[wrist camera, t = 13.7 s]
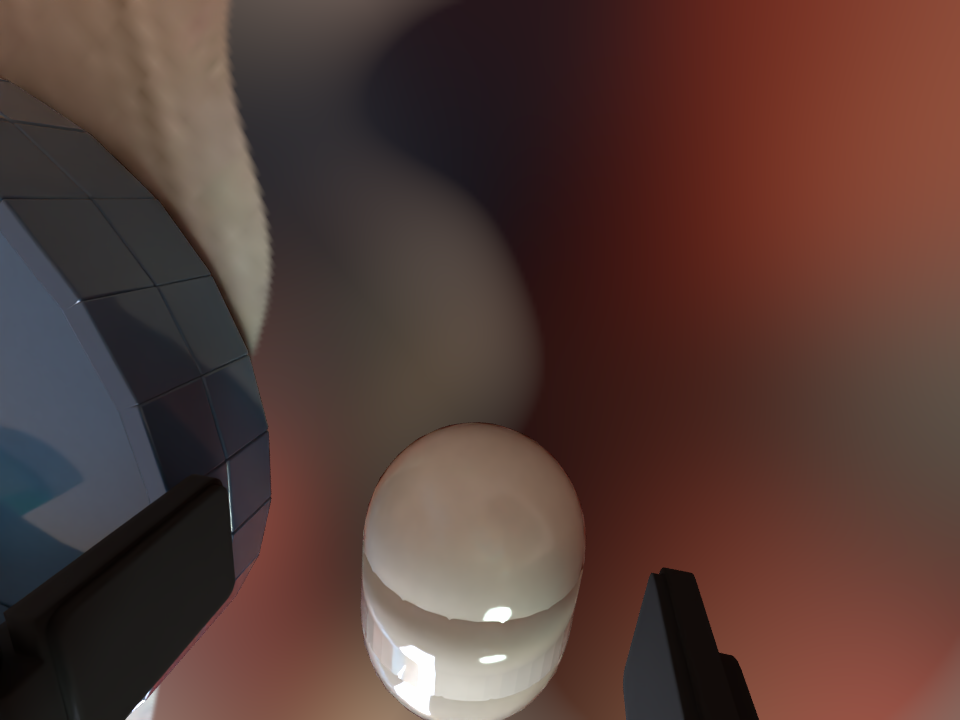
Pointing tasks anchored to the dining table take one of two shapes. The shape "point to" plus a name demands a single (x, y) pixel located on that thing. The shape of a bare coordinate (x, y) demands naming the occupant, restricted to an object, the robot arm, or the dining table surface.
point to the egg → (470, 572)
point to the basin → (108, 359)
